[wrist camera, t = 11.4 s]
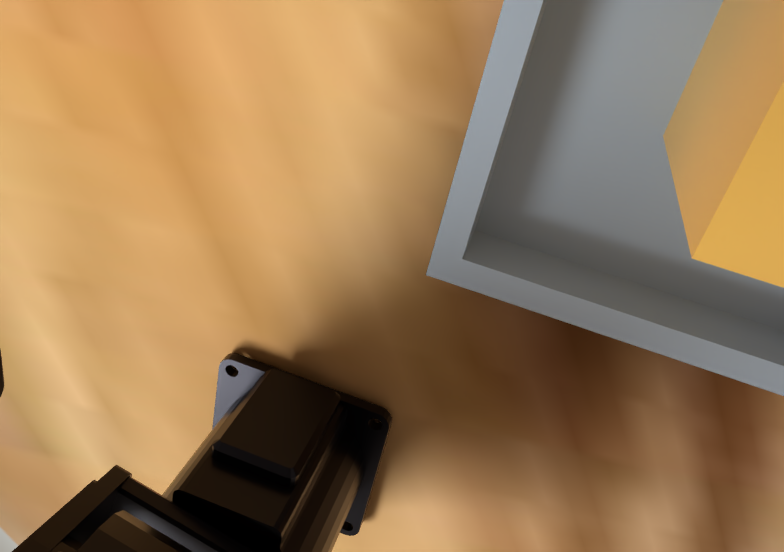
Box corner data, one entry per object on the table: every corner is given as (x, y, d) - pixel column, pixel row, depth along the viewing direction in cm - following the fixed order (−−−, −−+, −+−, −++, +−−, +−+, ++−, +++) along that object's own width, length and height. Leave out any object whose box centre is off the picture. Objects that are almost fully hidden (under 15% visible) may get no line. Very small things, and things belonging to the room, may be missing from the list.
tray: (842, 368, 19) (872, 425, 17) (444, 237, 20) (425, 274, 18) (1272, -227, 12) (1415, -257, 10) (619, -359, 13) (620, -410, 11)
